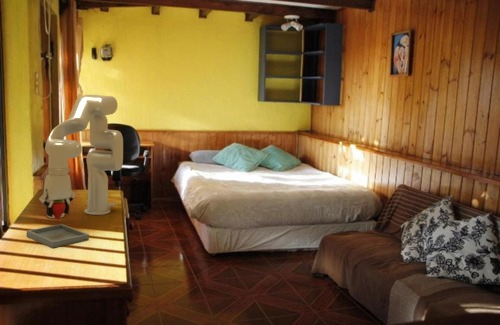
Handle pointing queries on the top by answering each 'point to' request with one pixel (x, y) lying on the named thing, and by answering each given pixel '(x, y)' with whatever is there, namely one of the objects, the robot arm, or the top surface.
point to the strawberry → (58, 208)
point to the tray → (57, 235)
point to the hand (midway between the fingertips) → (57, 214)
